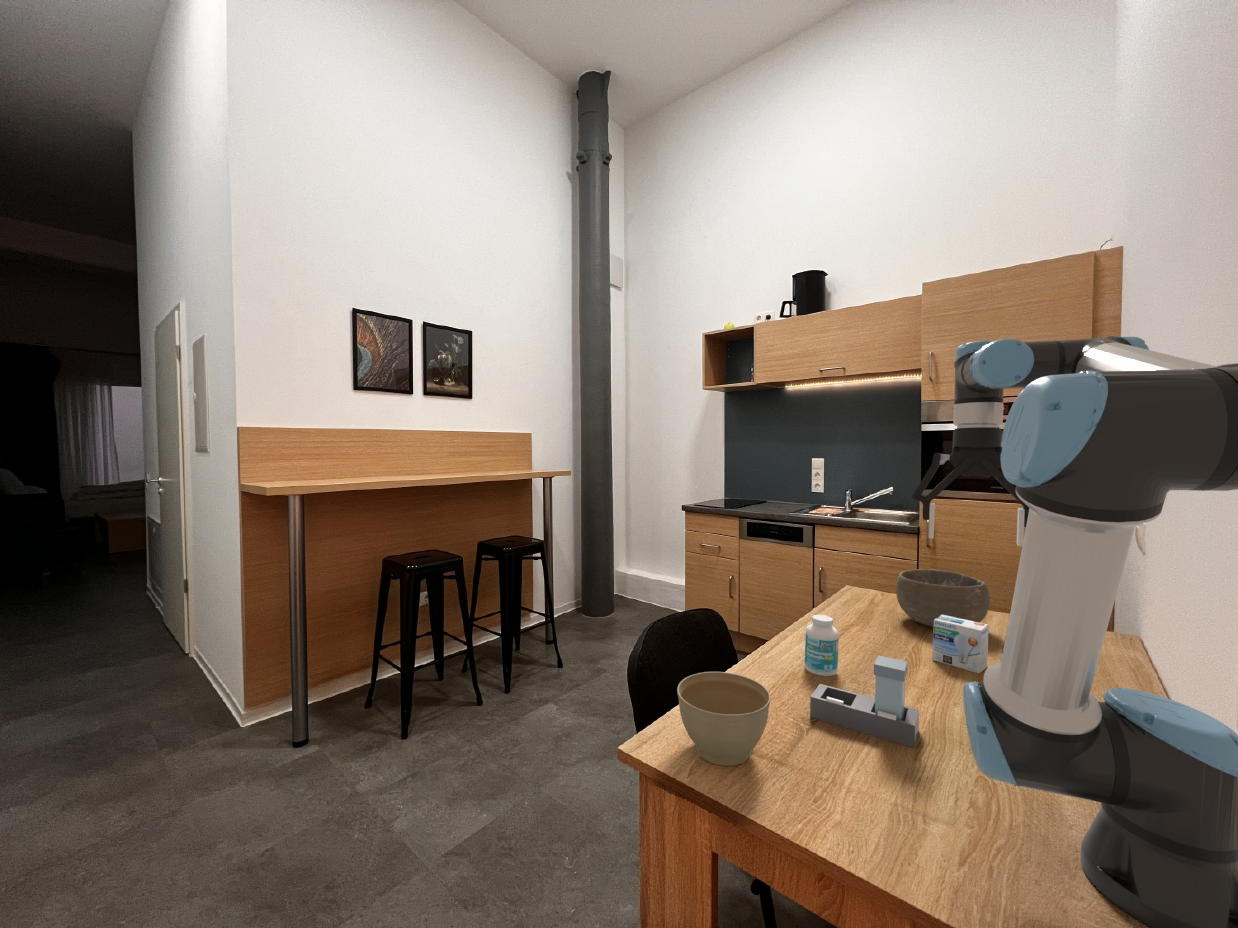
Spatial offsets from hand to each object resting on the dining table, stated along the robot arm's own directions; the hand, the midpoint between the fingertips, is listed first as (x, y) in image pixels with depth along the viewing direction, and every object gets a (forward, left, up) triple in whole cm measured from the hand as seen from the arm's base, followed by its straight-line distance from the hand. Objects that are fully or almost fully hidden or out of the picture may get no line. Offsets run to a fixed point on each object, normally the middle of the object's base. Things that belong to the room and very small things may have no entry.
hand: (973, 541), depth 96 cm
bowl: (+70, +9, -37) cm, 80 cm away
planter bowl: (-32, +36, -37) cm, 61 cm away
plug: (-9, +12, -36) cm, 39 cm away
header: (-9, +17, -37) cm, 42 cm away
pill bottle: (+12, +30, -37) cm, 49 cm away
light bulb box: (+39, +3, -37) cm, 54 cm away
